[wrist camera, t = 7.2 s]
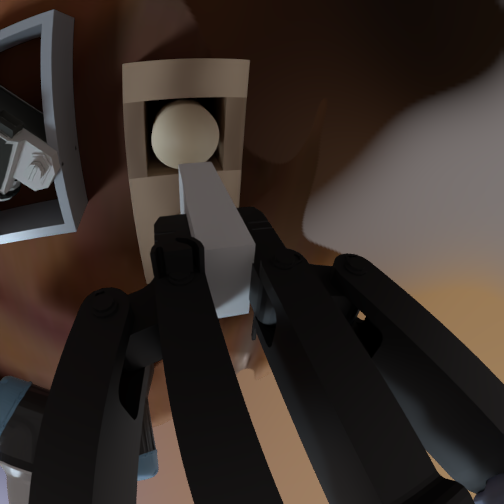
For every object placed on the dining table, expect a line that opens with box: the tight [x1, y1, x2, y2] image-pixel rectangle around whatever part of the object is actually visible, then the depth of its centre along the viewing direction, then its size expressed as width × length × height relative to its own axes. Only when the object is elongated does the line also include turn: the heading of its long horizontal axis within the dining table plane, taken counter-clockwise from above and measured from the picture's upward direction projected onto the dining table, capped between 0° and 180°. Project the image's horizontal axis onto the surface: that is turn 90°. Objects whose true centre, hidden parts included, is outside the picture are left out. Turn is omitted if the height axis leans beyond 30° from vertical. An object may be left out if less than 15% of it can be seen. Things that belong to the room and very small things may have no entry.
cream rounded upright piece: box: [151, 98, 219, 169], centre depth 22 cm, size 5×5×8 cm
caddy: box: [0, 9, 88, 244], centre depth 17 cm, size 14×20×6 cm, turn 175°
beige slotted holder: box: [122, 58, 250, 284], centre depth 25 cm, size 9×20×8 cm, turn 175°
